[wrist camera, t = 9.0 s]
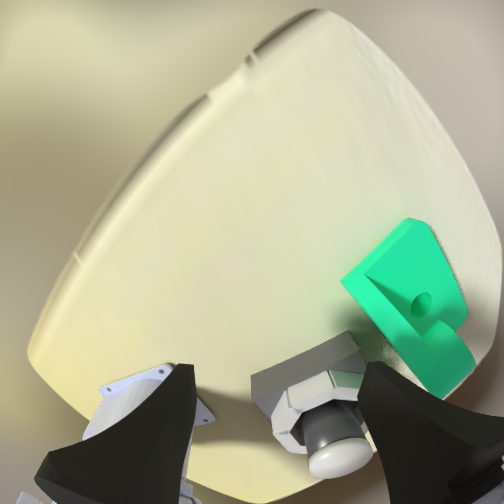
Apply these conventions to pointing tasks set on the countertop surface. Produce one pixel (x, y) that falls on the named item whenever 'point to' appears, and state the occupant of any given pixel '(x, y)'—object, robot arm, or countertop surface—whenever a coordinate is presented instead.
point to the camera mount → (415, 305)
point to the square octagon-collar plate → (309, 387)
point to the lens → (334, 439)
